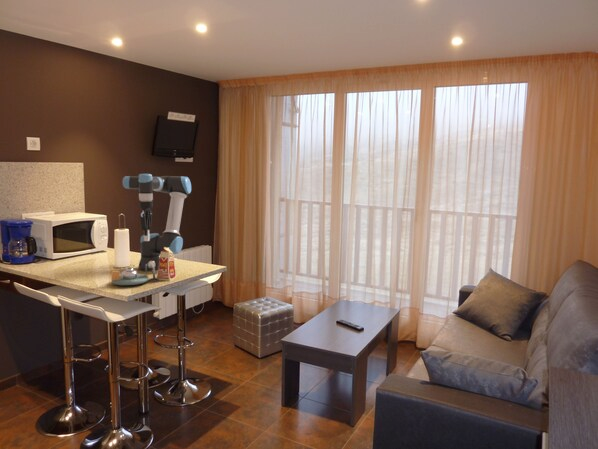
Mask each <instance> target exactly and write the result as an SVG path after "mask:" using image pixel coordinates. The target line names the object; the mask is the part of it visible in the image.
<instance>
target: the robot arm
mask: <svg viewBox="0 0 598 449" xmlns="http://www.w3.org/2000/svg"><path fill="white" fill-rule="evenodd" d="M122 186H123V188H125V190H126V189H127V190H138V200H139V202H138V203H139V204H138V207H139V208H140V209H141V213H139V217H140V218H139V219H140V224H141V225H140V226H141V231H143V235H141V236H140V260H139V263H138V266H137V267H138V270H139V271H142V272H146V269H147V272H153V268H152V269H151V268H149V267H148V262H150V261H155V264H156V266H155V271H158V267H159V261H160V255H161V251H162V250H163V249H164V247H166V248H168V247H169V249H170V250H171V251H172V252H173V255H177V254H179V253H180V252H181V251H182V249H183V244H184V239H183V237H182V236H181V234H180V226H181V222H182V221H181V220H182V215H183V208H184V201H185V199H186V198H188V195H189V194H191V192H192V183H191V180H190V178H189V177H188V176H182V175H181V176H180V175H179V176H175V175H174V176H173V175H163V176H153V175H152V174H151V173H139V174H138V176H131V175H128V176H127V175H125V176H124V177H123V178H122ZM153 191H154V192H160V193H164V194H165V193H166V194H169V196H170V202H169V208H168V214H167V220H166V226H165V230H164V231H163V232H162V233H161V234H162V235H160V234H159V232H158V233H157V232H154V233H150V230H152V219H153V211H152V210H151V208H153V207H154V201H153V200H154V195H153V194H154V193H153Z"/></svg>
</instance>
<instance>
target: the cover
mask: <svg viewBox="0 0 598 449" xmlns="http://www.w3.org/2000/svg"><path fill="white" fill-rule="evenodd" d="M137 274H138V270H136V269H134V268H133V267H127V268H126V269H124V270H123V271H122V274H121V275H122V278H123V279H125V280H132V279H136V278H137Z"/></svg>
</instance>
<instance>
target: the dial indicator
mask: <svg viewBox="0 0 598 449" xmlns="http://www.w3.org/2000/svg"><path fill="white" fill-rule="evenodd" d="M155 266H156V264H155V261H150V262H148V267H149V268H151V269H152V268H153V271H152V278H150V279H148V281H149V282H150V283H151V282H153V283H156V282H158V281H160V280H159V279H157V277H156V270H155ZM147 272H148V271H147V269H146V271H145V275H146V276H148V274H147Z"/></svg>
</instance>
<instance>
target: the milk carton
mask: <svg viewBox="0 0 598 449" xmlns="http://www.w3.org/2000/svg"><path fill="white" fill-rule="evenodd" d="M159 257H160V261H159V267H158V270H157V274H156V278H157V279H159V280H158V281H167V282H168V281H169V282H171V281H173V280H174V279H176V278H177V270H176V264H175V257H174V254H173V252H172V251H171V250H170V249H169V247H168V248H166V247H164V249H163V250H162V251H161V254H159Z"/></svg>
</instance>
